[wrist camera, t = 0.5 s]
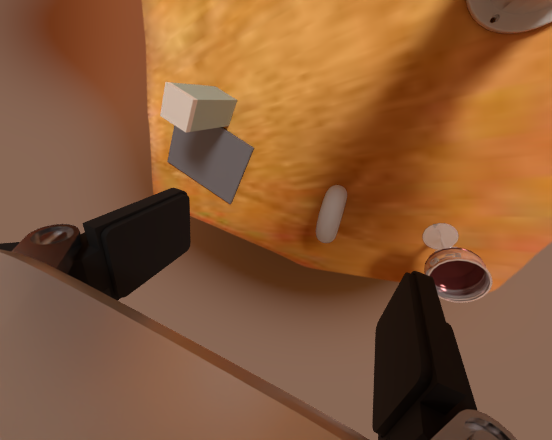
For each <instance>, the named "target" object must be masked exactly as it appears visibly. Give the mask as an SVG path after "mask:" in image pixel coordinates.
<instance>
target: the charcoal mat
mask: <svg viewBox="0 0 552 440" xmlns="http://www.w3.org/2000/svg"><path fill="white" fill-rule="evenodd" d="M253 150H254V148H253V147H252V146H250V145H249V144H247V143H245V142H244V141H242V140H241V139H239V138H238V137H236V136H234V135H233V134H231V133H230V132H228V131H227V130H225V129H224V128H222V127H219V128H212V129H206V130H199V131H193V132H184V131H183V130H181V129H180V128H178V127H177V126H174V131H173V136H172V141H171V146H170V151H169V157H168V162H169V163H170V164H172V165H173V166H175V167H176V168H178V169H179V170H181V171H182V172H184V173H185V174H187V175H188V176H189V177H191V178H192V179H194V180H195V181H197V182H198V183H200V184H201V185H203V186H204V187H206V188H207V189H209V190H210V191H212V192H213V193H214V194H216V195H217V196H219V197H220V198H222V199H223V200H225V201H226V202H228V203H229V204H231V203H232V201H233V198H234V196H235V193H236V191H237V189H238V186H239V184H240V181H241V179H242V176H243V174H244V172H245V169H246V167H247V164H248V162H249V159H250V157H251V154H252V152H253Z"/></svg>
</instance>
